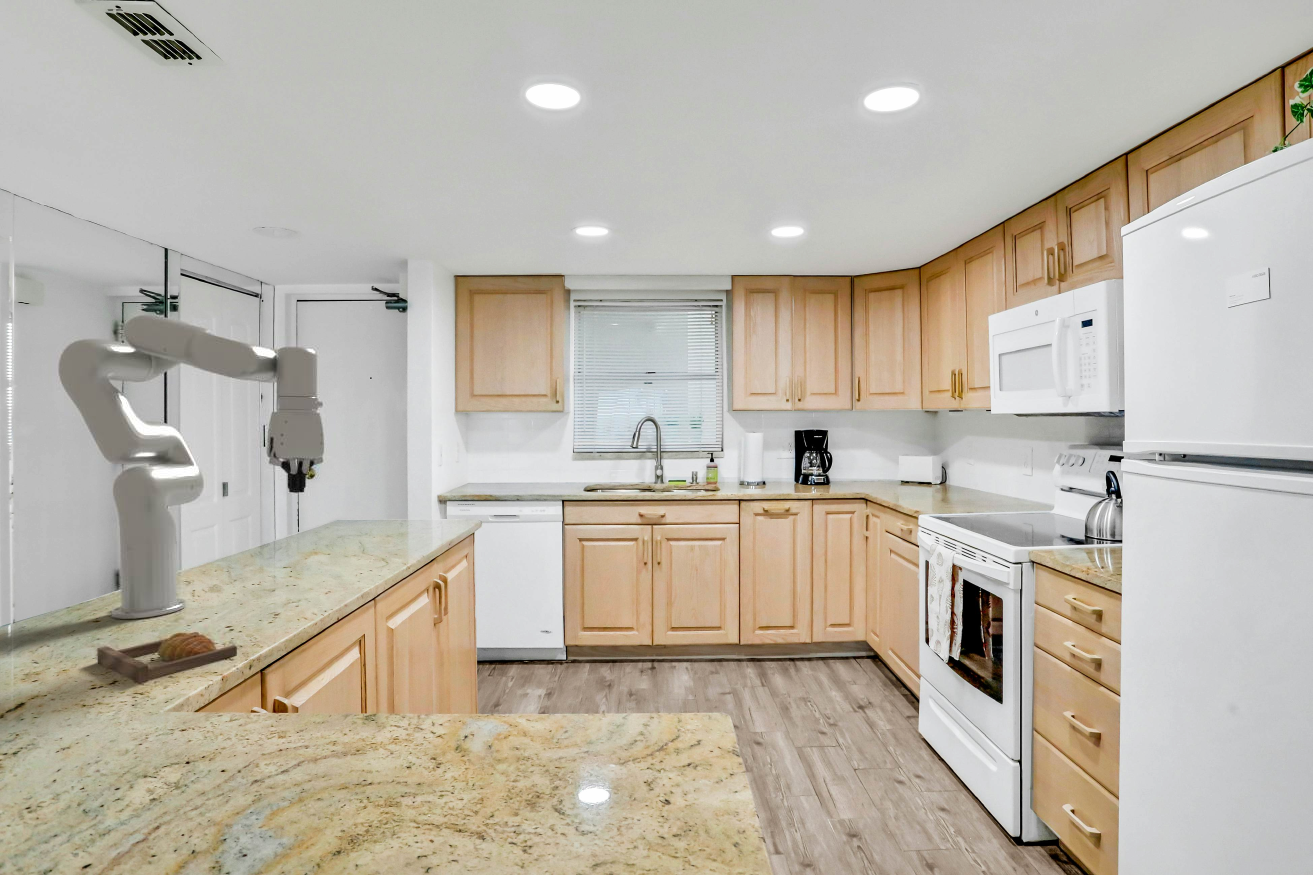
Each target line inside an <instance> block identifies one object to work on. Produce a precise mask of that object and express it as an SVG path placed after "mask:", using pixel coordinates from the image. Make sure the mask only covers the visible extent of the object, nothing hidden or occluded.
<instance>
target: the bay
mask: <svg viewBox="0 0 1313 875" xmlns="http://www.w3.org/2000/svg"><path fill="white" fill-rule="evenodd" d="M188 633H189V632H188ZM194 633H195V634H200V633H199V632H198V631H194V632H190V633H189V634H194ZM165 639H166V638H164V639H161V640H160V639H159V640H155V641H152V642H147V643H143V644H139V645H135V646H130V647H126V648H123V649H118V650H116V649H114V648H111V647H110V646H107V645H105V646H104V645H103V646H99V647H97V648H96V649H97V651H96V652H97V653H96V654H97V656H96V657H97V663H98V664H99V665H101V666H103V667H106V668H107V669H110V670H111V671H114V672H115V673H118V674H119V675H121V676H124V677H125V678H127V679H129V680H131V681H133V682H135V683H137V684H138V685H139V684H140V685H141V684H144V683H148V682H149V681H150V680H152V679H155V678H159V677H160V678H161V677H163V676H167V675H170V674H173V673H178V672H181V671H184V670H188V669H192V668H194V667H195V668H196V667H199V666H203V665H206V664H211V663H213V662H218V661H221V660H224V659H228V658H231V657H234V656H237V655H238V648H237V647H238V646H236V645H230V646H226V647H222V648H218V649H217V648H216V649H217V650H214V651H210V652H206V653H202V654H198V655H195V656H191V657H187V658H183V659H179V660H176V661H172V662H168V661H167V662H166V663H161V664H157V665H154V666H149V664H146V663H144V662H142V661H140V660H138V659H136V657H140V656H144V655H148V654H153V653H158V649H159V647H160V646H161V644H162V643H163V642H164V641H165Z"/></svg>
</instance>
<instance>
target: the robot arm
mask: <svg viewBox="0 0 1313 875" xmlns="http://www.w3.org/2000/svg"><path fill="white" fill-rule="evenodd" d="M123 337H124V339H125V341H126V342H122V341H121V342H120V341H114V340H107V339H98V338H96V339H95V338H87V339H86V338H85V339H78V340H76V341H73V342H72V343H69V345H67V346H66V347H64V349H63V351H62V353H61V355H60V358H59V362H58V376H59V381H60V382H61V385H62V387H63V389H64V391H65V393H66V394H67V396H69V398H70V400H71V401H72V403H74V405H75V406H76V408H77V409H78V411H79V413H80V414H81V416H82V418H83V421H84V423H85V425H86V426H87V429H88V430H89V432H90V434H91V436H92V438H93V439H94V442H95V444H96V445H97V447H98V449H99V451H100V453H101V455H102V456H103V457H104V458H105V460H107V461H108V462H109V463H112V464H113V465H114V464H115V465H135V466H133V467H129V468H127V469H125V470H123V471H122V472H120V473H119V474H118V475H117V476H116V478H115V479H114V481H113V482H114V483H113V486H112V494H113V500H114V503H115V506H116V510H117V514H118V523H119V542H120V544H119V545H120V546H119V547H120V548H119V550H120V554H119V555H120V597H121V598H120V606H117V607H115V608H114V609H112V610H111V617H112V618H115V619H119V620H120V619H122V620H123V619H124V620H126V619H127V620H130V619H133V620H135V619H144V618H151V617H158V616H162V615H168V614H170V613H174V612H178V611H180V610H182V609H184V608H185V607H186V606H187V600H185V599H183V598H180V597H179V598H178V573H177V571H178V566H177V565H178V561H177V528H176V523H175V519H174V518H173V515H172V514H171V512H170V510H169V508H168V507H172V506H180V505H184V504H185V505H186V504H189V503H192V502H193V501H196V500H197V499H198V498H200V496H201V494H202V493H203V490H204V486H205V484H204V478H203V474H202V471H201V470H200V468H199V466H198V464H197V462H196V459H195V458H194V456H193V454H192V453H191V450H190V449H189V447H188V444H187V443H186V441H185V439H184V438H183V436H182V435H181V433H180V432H179V431H178V430H177V429H176V428H175V427H173V426H172V425H171V424H169V423H165V422H161V421H153V420H152V421H150V420H149V421H145V420H143V419H141V418H140V417H139V416H138V414H137V413H136V411H135V410H134V407H133V406H132V403H131V402H130V400H129V399H128V397H127V396H126V395H125V394H124V393H123V392H122V391H120V390H119V389H118V388H117V387H116V386H114V384H112V383H111V381H120V382H132V383H144V382H148V381H151V380H153V379H156V378H158V377H159V376H161V375H163V374H164V373H166V372H168V371H170V370H171V369H173V368H175V367H177V366H178V365H180V364H184V365H186V366H187V365H188V366H191V367H193V368H196V369H200V370H202V371H205V372H209V373H211V374H216V375H220V376H224V377H227V378H232V379H236V380H240V381H253V382H260V383H271V384H274V383H276V397H275V398H276V405H275V408H276V411H272V412H271V414H270V418H269V423H268V427H267V428H268V430H267V438H266V456H267V457H268V458H269V460H268V464H269V466H275V467H276V466H277V467H279V468H281V469H282V470H283V471H284V473H286V474H287V489H288V492H289V493H293V494H299V493H305V488H306V486H307V483H306V482H307V476H306V475H307V474H308V473H309V471H310V469H311V468H312V467H313V466H316V465H320V464H322V463H323V462H324V458H323V456H324V454H325V438H324V428H323V423H322V416H321V414H320V412H318V410H319V408H323V404H324V403H323V401H319V399H318V355H317V352H316V351H315V350H314V349H312V348H310V347H309V348H308V347H303V346H283V347H279V348H274V347H268V346H264V345H258V344H253V343H247V342H242V341H238V340H234V339H229V338H225V337H221V336H217V335H215V334H214V333H213V331H211V330H209V329H208V328H205V327H201V326H197V325H193V324H190V323H188V322H186V321H183V320H179V319H174V318H168V317H165V316H159V315H155V314H154V315H153V314H141V315H137V316H133V317H132V318H131V319H128V321H127V322H126V323H125V324H124V327H123ZM136 465H137V466H136Z"/></svg>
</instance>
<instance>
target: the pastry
mask: <svg viewBox="0 0 1313 875" xmlns="http://www.w3.org/2000/svg"><path fill="white" fill-rule="evenodd" d="M164 639H165V641H164V642H163V643H162V644H161V646H160V647H159V649H158V651H157V653H158V656H159V657H160V658H161V660H165V662H167V663H168V662H172V661H176V660H179V659H183V658H187V657H191V656H195V655H198V654H202V653H206V652H210V651H214V650H217V647H216V646H215V643H214V642H213V641H212V640H211V638H208V637H207V636H205V635H204V634H200V633H199V634H195V633H194V634H189V632H178V633H174V634H172V635H171V636H169V637H167V638H164Z"/></svg>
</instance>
